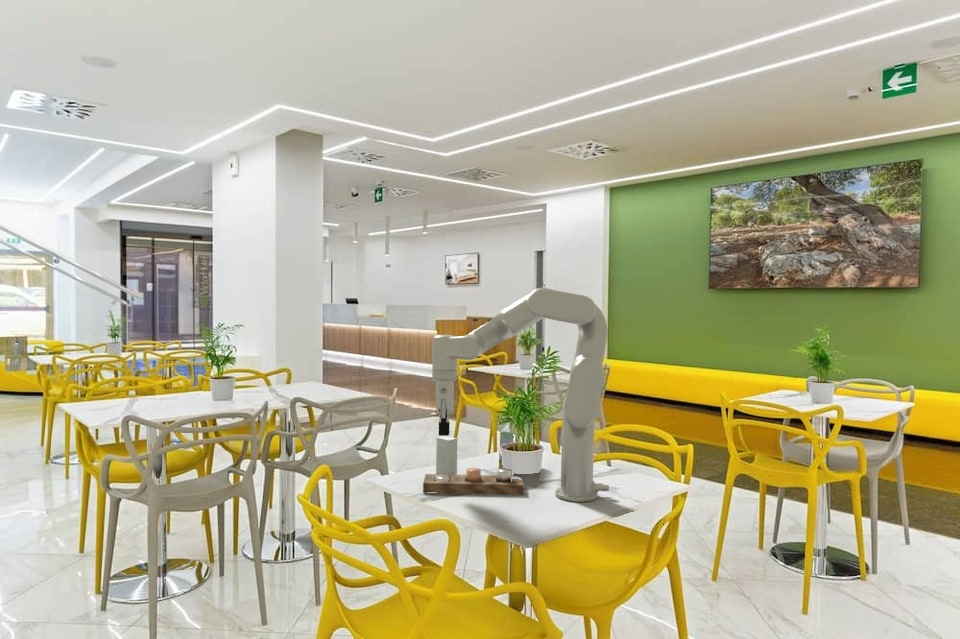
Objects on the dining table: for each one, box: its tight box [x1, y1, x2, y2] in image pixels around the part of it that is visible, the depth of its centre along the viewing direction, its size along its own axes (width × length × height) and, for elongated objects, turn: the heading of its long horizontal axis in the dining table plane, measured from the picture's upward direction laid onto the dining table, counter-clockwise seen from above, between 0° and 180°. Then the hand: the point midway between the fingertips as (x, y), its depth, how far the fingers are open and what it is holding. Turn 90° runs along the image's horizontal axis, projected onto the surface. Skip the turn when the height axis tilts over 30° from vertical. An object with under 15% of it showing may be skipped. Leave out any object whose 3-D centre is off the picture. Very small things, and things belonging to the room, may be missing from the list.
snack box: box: [498, 423, 514, 469], centre depth 224 cm, size 21×6×15 cm, turn 168°
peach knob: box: [465, 467, 482, 482], centre depth 199 cm, size 4×4×3 cm
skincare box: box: [435, 436, 458, 475], centre depth 215 cm, size 6×4×12 cm
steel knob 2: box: [496, 468, 512, 482], centre depth 199 cm, size 4×4×3 cm
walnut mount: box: [422, 473, 524, 496], centre depth 199 cm, size 30×10×3 cm, turn 90°
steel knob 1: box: [435, 475, 450, 481], centre depth 199 cm, size 4×4×3 cm
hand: (443, 434), depth 198 cm, fingers closed
